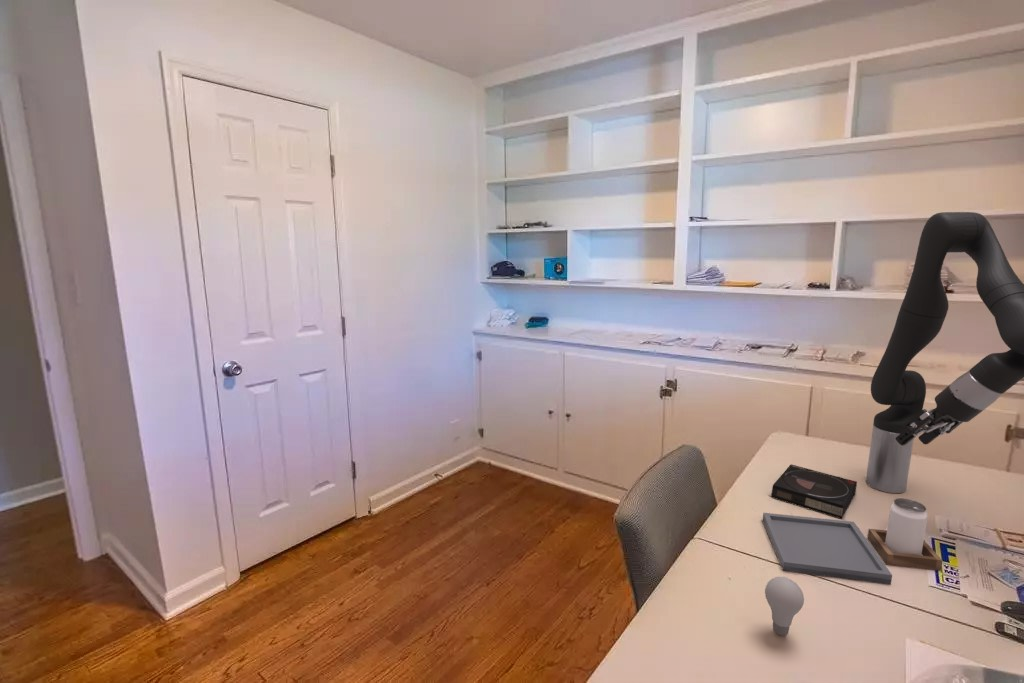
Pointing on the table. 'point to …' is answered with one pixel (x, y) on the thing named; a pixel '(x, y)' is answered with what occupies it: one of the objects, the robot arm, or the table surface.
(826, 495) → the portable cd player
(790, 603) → the lightbulb
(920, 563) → the holder
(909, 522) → the can
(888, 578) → the tray
